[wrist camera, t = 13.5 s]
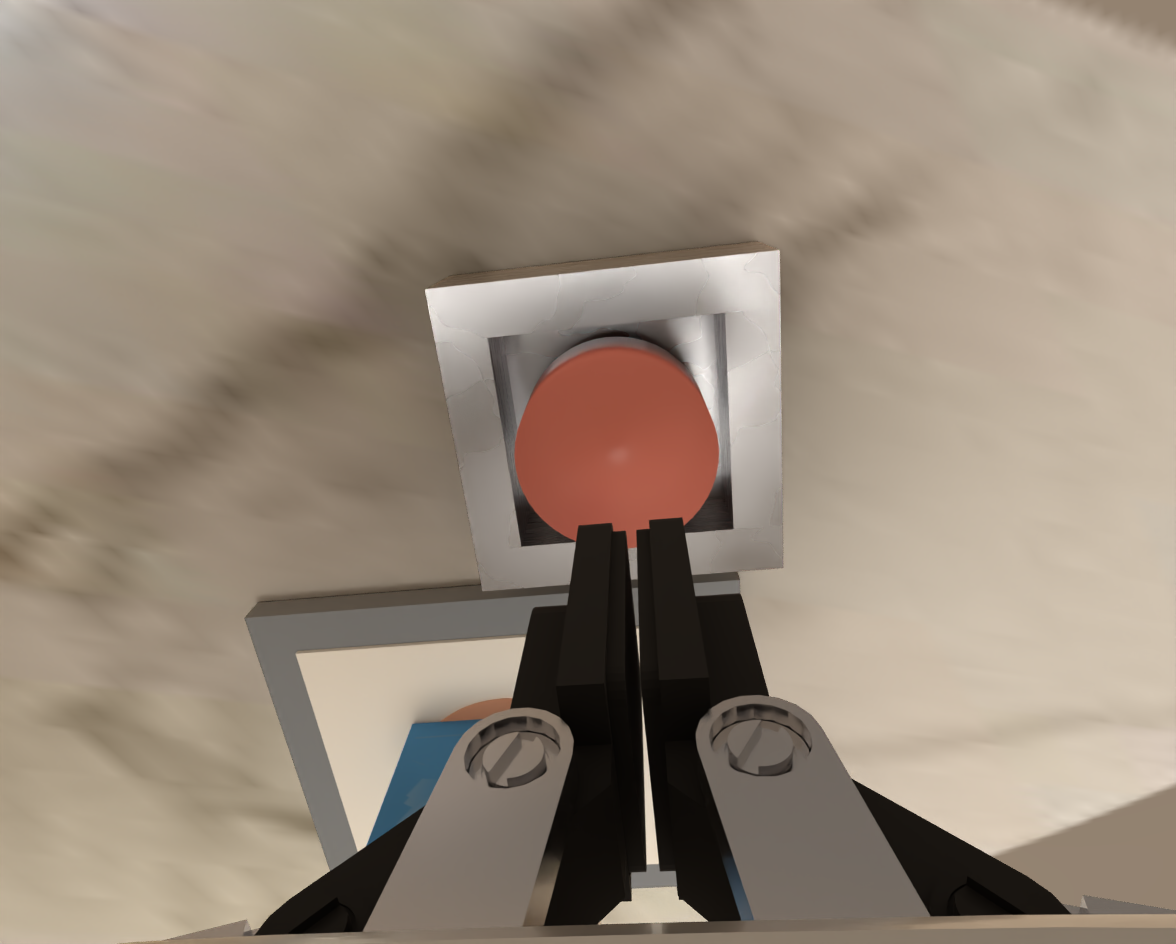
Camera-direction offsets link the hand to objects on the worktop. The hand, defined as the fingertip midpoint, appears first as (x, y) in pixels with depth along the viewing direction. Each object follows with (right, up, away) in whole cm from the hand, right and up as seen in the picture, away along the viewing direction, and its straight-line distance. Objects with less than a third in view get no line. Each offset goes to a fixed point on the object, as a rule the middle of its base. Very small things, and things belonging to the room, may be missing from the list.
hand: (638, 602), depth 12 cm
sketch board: (-3, -8, +16) cm, 18 cm away
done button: (0, +3, +9) cm, 10 cm away
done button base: (0, +4, +11) cm, 12 cm away
